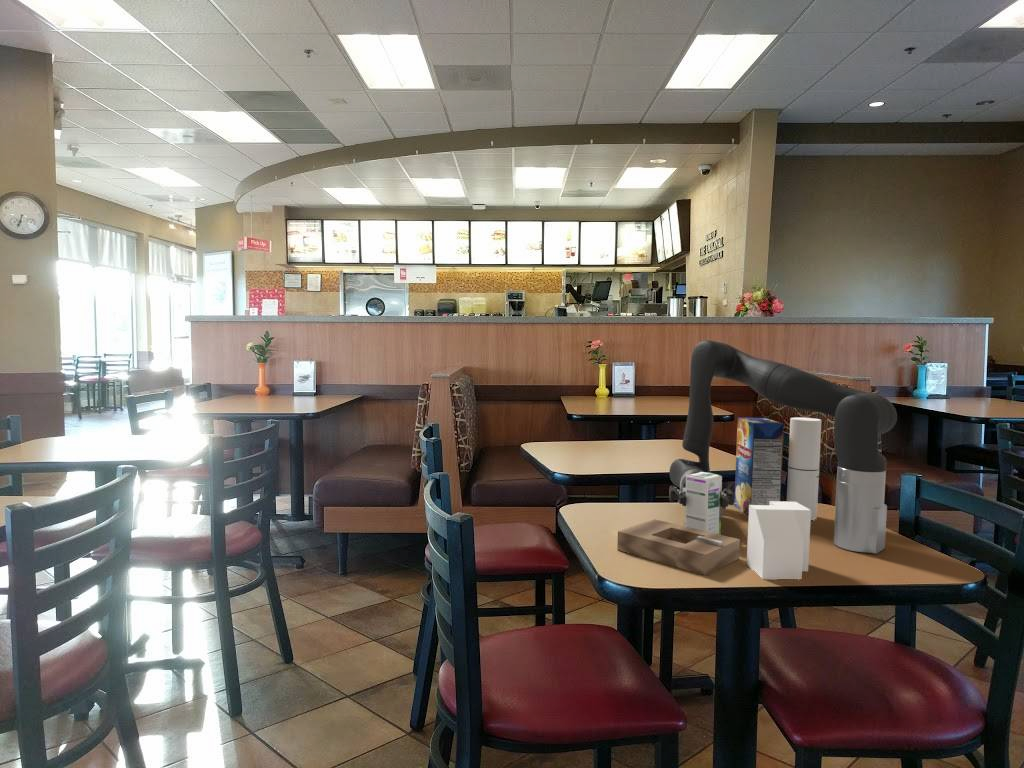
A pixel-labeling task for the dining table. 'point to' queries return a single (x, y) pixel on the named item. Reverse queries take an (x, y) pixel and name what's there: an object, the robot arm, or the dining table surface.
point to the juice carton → (758, 462)
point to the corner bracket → (778, 539)
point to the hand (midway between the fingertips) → (704, 502)
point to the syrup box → (703, 502)
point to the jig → (679, 546)
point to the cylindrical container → (804, 462)
